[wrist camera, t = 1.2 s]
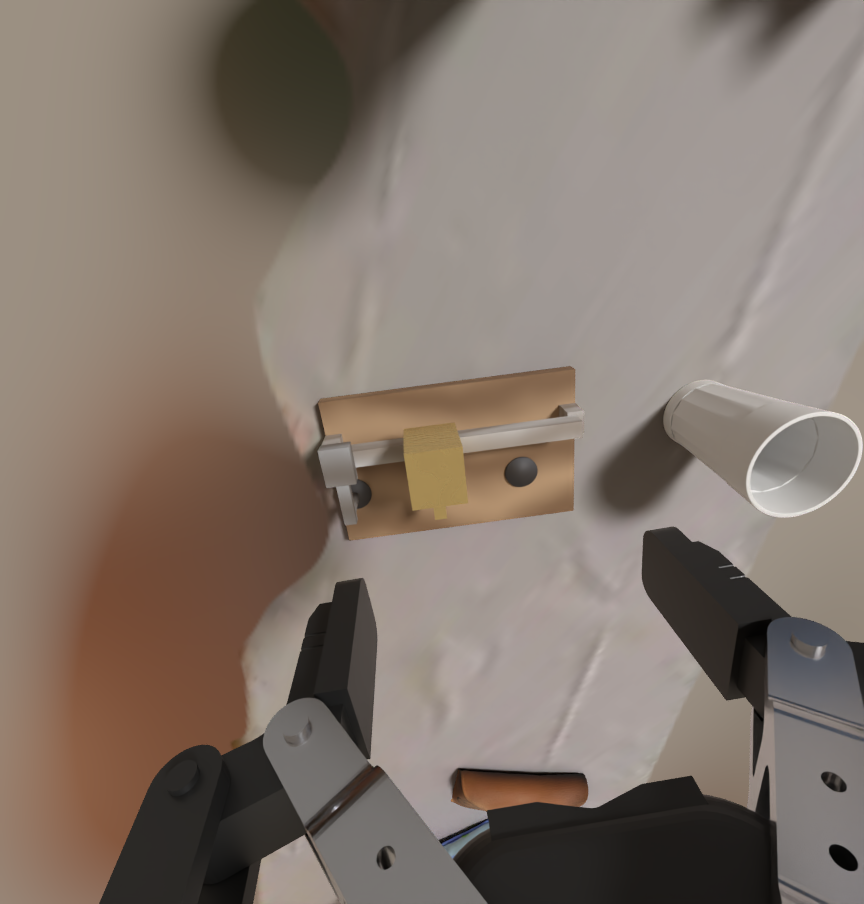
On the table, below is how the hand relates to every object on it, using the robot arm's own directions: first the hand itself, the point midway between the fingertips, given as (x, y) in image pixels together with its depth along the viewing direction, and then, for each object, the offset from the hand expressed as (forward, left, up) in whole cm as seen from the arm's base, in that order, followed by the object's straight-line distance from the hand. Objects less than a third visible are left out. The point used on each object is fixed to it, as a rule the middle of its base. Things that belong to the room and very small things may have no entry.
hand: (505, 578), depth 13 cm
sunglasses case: (+60, +4, -29) cm, 67 cm away
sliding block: (+7, -1, -26) cm, 27 cm away
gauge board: (+8, +1, -28) cm, 29 cm away
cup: (+7, +24, -28) cm, 37 cm away
